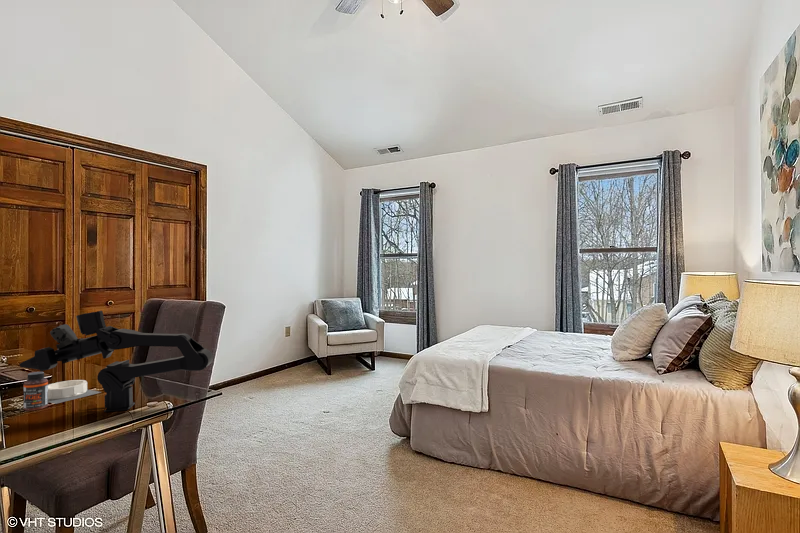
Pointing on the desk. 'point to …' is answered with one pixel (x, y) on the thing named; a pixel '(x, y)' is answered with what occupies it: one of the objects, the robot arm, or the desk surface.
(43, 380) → the supplement bottle
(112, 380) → the robot arm
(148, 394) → the desk surface
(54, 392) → the bowl
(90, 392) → the mat
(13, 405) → the desk surface
